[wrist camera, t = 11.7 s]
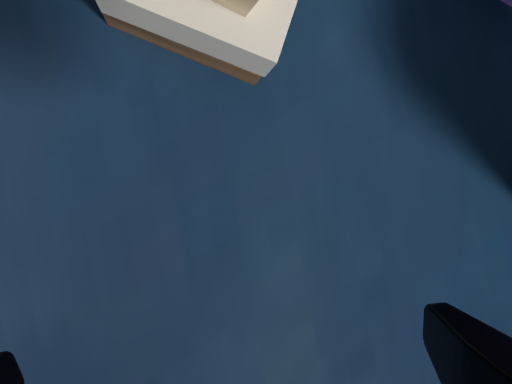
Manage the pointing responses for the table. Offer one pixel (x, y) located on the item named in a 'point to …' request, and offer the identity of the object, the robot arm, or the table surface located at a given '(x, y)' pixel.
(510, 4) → the tape roll
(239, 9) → the beech pillar
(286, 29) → the cream slab
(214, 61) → the walnut slab
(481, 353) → the robot arm
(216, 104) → the table surface
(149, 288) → the table surface
